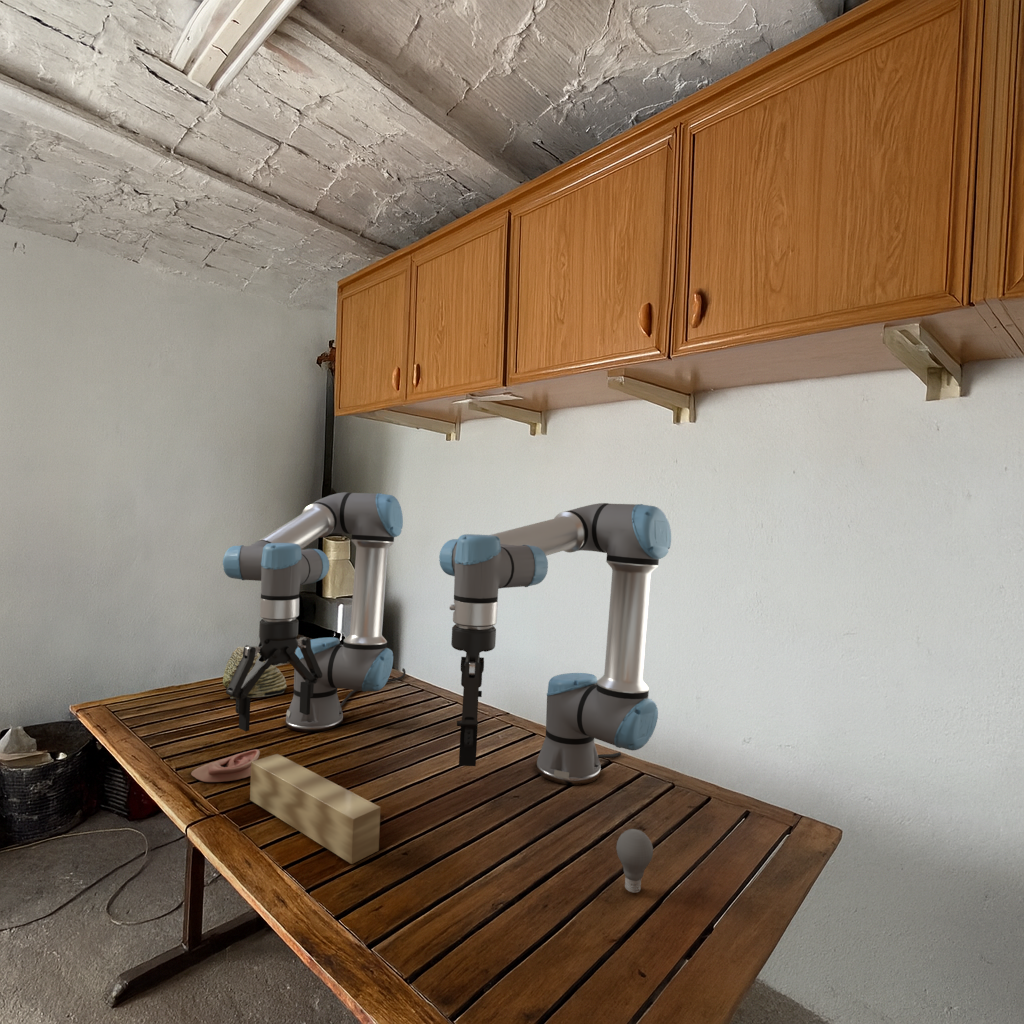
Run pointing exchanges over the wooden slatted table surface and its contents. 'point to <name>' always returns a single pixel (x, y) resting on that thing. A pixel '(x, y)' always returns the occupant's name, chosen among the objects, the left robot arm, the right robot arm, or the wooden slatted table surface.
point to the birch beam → (316, 807)
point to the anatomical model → (227, 768)
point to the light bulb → (634, 857)
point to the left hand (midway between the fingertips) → (275, 721)
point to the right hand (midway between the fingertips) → (468, 748)
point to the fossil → (267, 683)
